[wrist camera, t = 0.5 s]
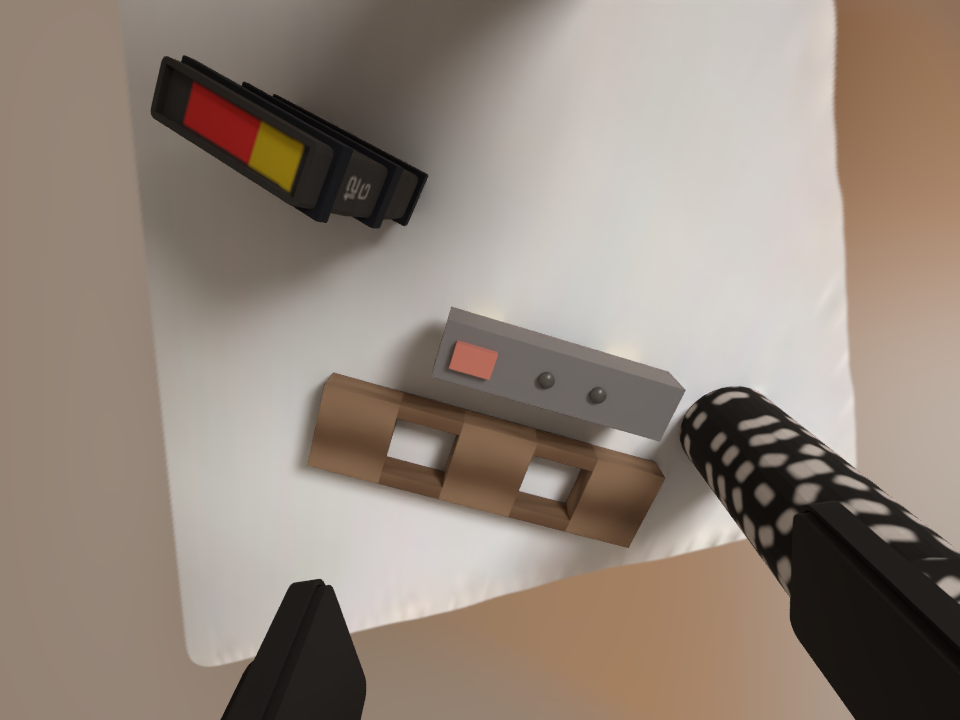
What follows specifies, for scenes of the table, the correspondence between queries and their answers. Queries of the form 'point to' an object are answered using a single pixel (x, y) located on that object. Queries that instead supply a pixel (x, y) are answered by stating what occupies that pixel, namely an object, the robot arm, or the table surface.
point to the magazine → (285, 147)
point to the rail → (482, 461)
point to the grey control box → (556, 375)
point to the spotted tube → (796, 484)
